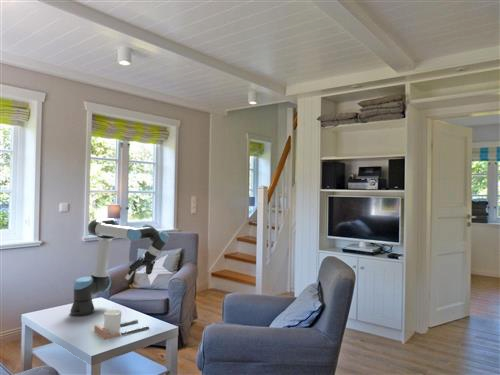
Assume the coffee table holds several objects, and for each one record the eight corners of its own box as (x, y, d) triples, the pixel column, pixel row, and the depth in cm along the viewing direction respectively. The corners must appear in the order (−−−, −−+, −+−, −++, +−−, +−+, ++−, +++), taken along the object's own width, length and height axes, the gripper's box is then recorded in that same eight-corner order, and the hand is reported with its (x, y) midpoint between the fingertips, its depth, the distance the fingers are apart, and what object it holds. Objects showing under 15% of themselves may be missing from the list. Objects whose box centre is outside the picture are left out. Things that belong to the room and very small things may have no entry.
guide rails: (110, 327, 229) (110, 325, 229) (136, 321, 241) (136, 319, 241) (122, 335, 218) (122, 332, 218) (148, 328, 229) (148, 326, 229)
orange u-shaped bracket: (94, 331, 223) (94, 325, 223) (109, 328, 229) (109, 321, 229) (105, 339, 211) (105, 332, 211) (120, 335, 217) (120, 329, 217)
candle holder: (115, 336, 216) (115, 315, 216) (99, 334, 218) (100, 314, 218) (124, 330, 226) (124, 310, 226) (109, 328, 228) (110, 309, 228)
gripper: (143, 252, 234) (123, 281, 233) (167, 259, 255) (149, 285, 254) (136, 246, 238) (117, 274, 236) (160, 253, 259) (142, 279, 258)
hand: (133, 280), depth 245 cm, fingers open, 13 cm apart
